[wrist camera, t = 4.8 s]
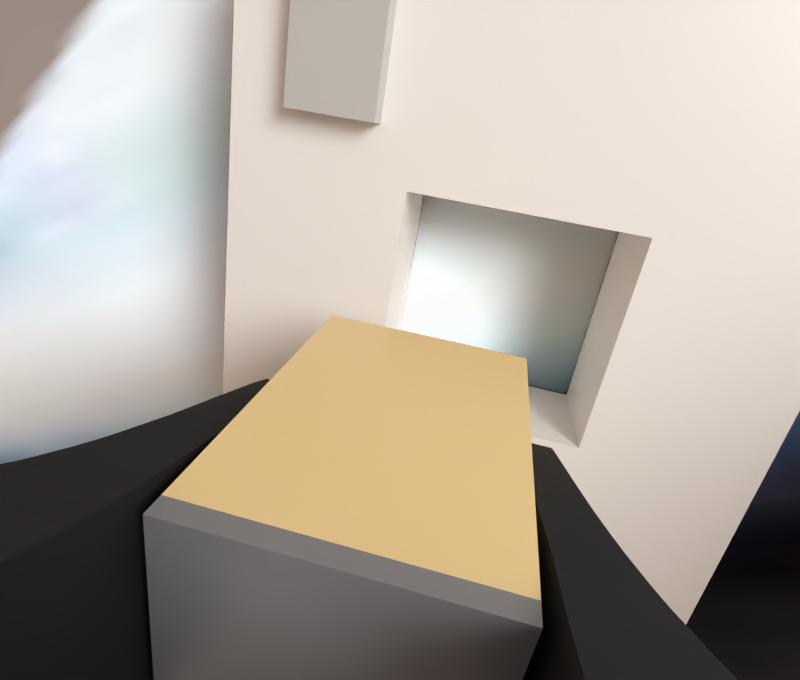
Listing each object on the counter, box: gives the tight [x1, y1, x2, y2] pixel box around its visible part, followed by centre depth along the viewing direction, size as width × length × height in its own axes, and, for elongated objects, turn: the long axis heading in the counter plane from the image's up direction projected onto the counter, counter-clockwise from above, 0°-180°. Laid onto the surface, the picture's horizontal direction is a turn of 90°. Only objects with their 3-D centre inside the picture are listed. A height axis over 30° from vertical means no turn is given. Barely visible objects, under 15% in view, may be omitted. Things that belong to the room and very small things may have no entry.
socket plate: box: [222, 0, 800, 624], centre depth 13 cm, size 14×16×4 cm
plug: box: [143, 315, 543, 680], centre depth 8 cm, size 4×4×6 cm
